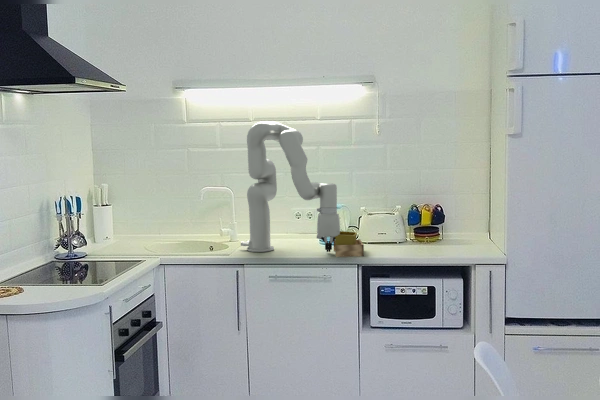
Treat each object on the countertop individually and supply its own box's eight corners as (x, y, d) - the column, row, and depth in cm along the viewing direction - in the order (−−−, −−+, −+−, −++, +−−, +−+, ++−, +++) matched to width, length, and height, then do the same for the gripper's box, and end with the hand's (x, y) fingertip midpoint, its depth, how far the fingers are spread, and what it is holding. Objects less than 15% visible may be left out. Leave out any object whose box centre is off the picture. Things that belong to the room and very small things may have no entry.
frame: (335, 256, 285) (335, 245, 285) (333, 250, 300) (333, 240, 299) (363, 256, 285) (363, 244, 285) (360, 250, 300) (360, 239, 299)
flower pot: (353, 255, 288) (354, 235, 287) (333, 253, 290) (334, 233, 289) (356, 251, 297) (357, 232, 296) (337, 250, 299) (338, 230, 298)
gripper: (311, 212, 287) (312, 253, 289) (345, 211, 287) (345, 252, 289) (311, 210, 294) (311, 250, 296) (344, 209, 294) (344, 249, 296)
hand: (328, 251), depth 292 cm, fingers closed
